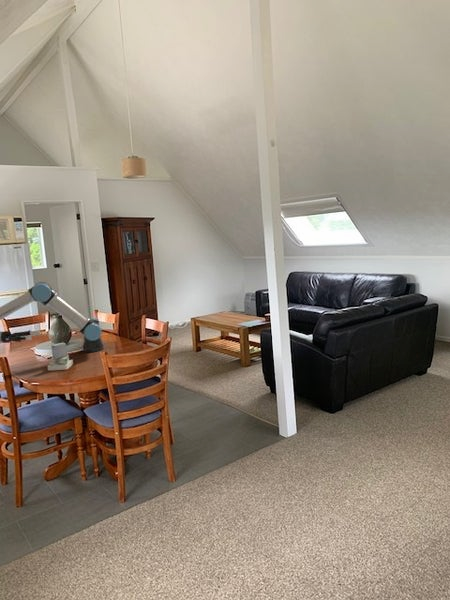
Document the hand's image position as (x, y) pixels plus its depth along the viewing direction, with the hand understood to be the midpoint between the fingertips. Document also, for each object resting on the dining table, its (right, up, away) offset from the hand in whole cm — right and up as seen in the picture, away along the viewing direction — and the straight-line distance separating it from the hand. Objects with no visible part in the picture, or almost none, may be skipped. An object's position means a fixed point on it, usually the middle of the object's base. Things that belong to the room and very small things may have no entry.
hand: (35, 335), depth 294 cm
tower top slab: (+17, -17, -3) cm, 25 cm away
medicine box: (+17, -14, -4) cm, 23 cm away
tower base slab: (+17, -21, -3) cm, 27 cm away
